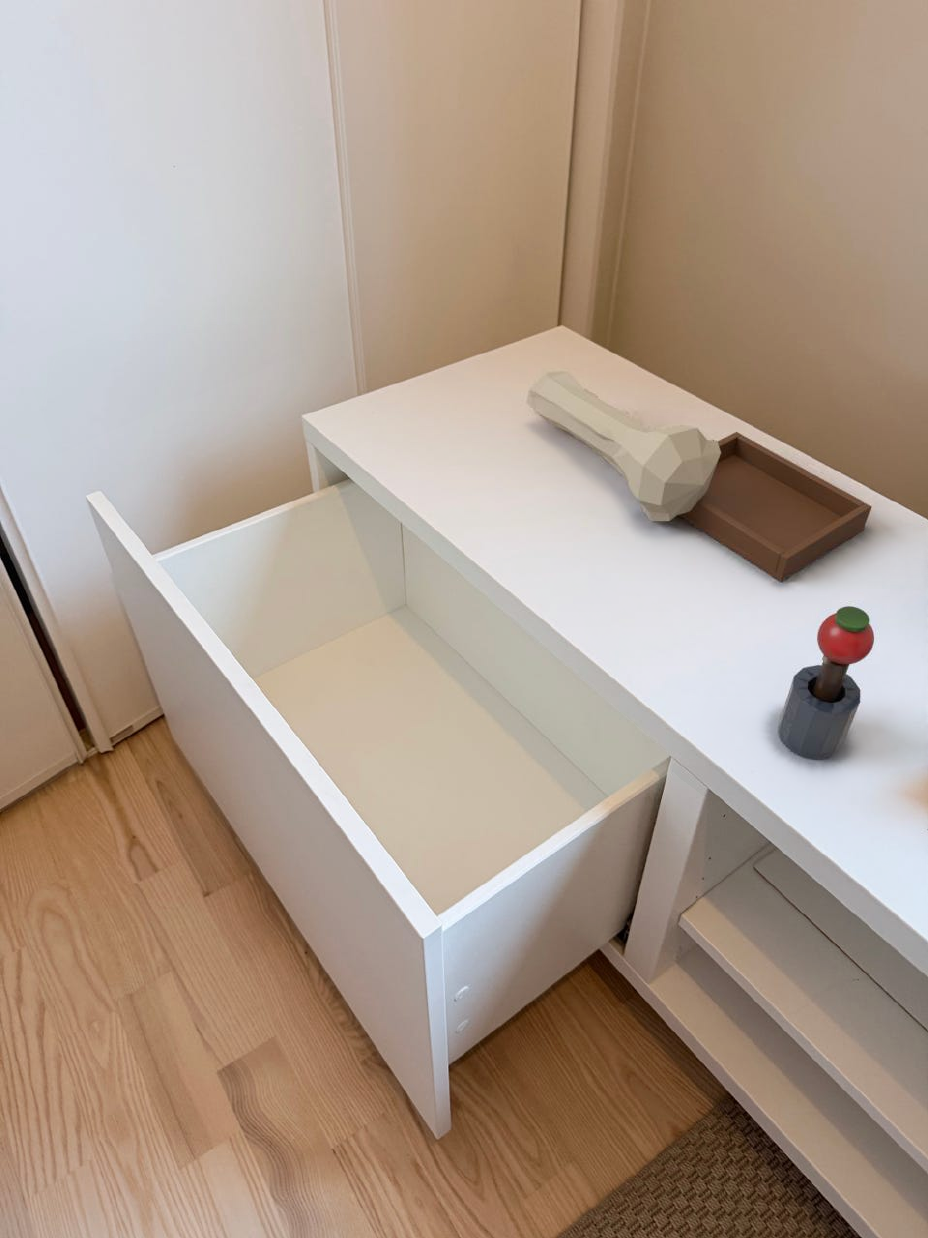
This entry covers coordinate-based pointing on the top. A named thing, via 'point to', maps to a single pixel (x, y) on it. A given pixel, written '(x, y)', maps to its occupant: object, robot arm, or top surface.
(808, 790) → the top surface
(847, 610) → the red ball joystick
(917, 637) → the top surface
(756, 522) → the tray
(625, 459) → the faceted club
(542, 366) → the top surface
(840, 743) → the holder
